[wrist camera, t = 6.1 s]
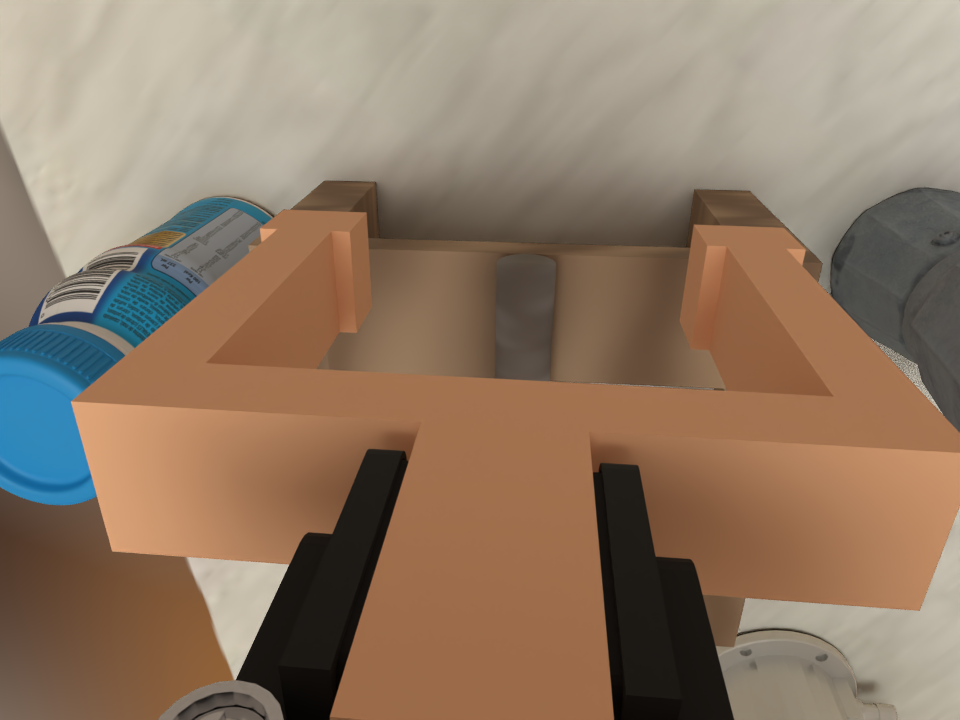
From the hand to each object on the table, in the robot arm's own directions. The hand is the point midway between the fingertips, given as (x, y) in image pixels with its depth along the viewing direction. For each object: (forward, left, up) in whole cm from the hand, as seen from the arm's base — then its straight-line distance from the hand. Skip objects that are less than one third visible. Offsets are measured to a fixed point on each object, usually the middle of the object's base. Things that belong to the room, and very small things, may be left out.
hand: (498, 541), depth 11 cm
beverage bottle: (+18, +7, -33) cm, 38 cm away
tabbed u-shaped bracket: (0, 0, -12) cm, 12 cm away
